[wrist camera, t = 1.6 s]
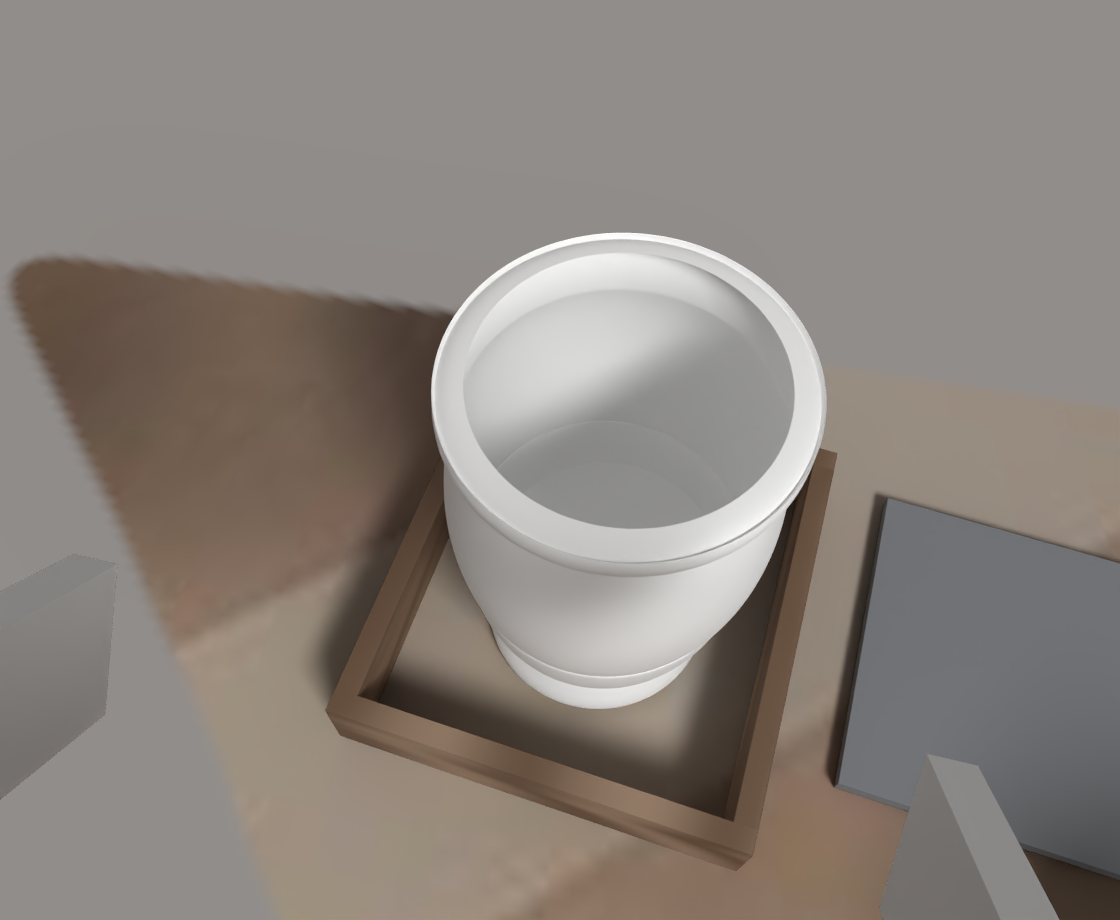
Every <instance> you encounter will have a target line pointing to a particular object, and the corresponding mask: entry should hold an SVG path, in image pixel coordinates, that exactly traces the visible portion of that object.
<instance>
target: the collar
mask: <svg viewBox="0 0 1120 920" xmlns="http://www.w3.org/2000/svg"><path fill="white" fill-rule="evenodd" d="M836 458H837V453H835V452H831V451H827V450H824V449H820V448H819V450H818V453H817V455H816V458H815V460H814V463H813V466H812V468H811V470H810V472H809V475H808V477H807V479H806V481H805V483H804V484H803V486H802V488H801V490H800V491H799V493H798V494H797V496H796V497H795V499H794V500H793V501H796V503H795V508H794V512H793V517H792V521H791V525H790V530H789V534H788V538H787V543H786V547H785V552H784V556H783V560H782V565H781V569H780V573H779V578H778V582H777V587H776V591H775V595H774V600H773V604H772V608H771V613H770V617H769V621H768V626H767V630H766V635H765V639H764V643H763V648H762V652H761V656H760V661H759V665H758V670H757V674H756V678H755V683H754V687H753V691H752V696H751V700H750V705H749V709H748V713H747V718H746V722H745V726H744V731H743V735H742V739H741V744H740V748H739V753H738V757H737V761H736V766H735V770H734V774H733V779H732V783H731V788H730V792H729V796H728V801H727V805H726V809H725V814H724V818H720V817H717V816H714V815H711V814H708V813H705V812H702V811H699V810H696V809H693V808H690V807H687V806H684V805H681V804H678V803H675V802H672V801H669V800H666V799H663V798H661V797H658V796H655V795H652V794H649V793H646V792H643V791H640V790H637V789H634V788H631V787H628V786H625V785H622V784H619V783H616V782H613V781H610V780H607V779H604V778H601V777H598V776H595V775H592V774H589V773H586V772H583V771H580V770H577V769H574V768H571V767H568V766H565V765H562V764H559V763H556V762H553V761H550V760H547V759H544V758H541V757H538V756H535V755H532V754H529V753H526V752H523V751H520V750H517V749H514V748H511V747H508V746H505V745H502V744H499V743H496V742H493V741H491V740H488V739H485V738H482V737H479V736H476V735H473V734H470V733H467V732H464V731H461V730H458V729H455V728H452V727H449V726H446V725H443V724H440V723H437V722H434V721H431V720H428V719H425V718H422V717H419V716H416V715H413V714H410V713H407V712H404V711H401V710H398V709H395V708H392V707H389V706H386V705H383V704H380V703H378V701H379V699H380V697H381V694H382V692H383V689H384V687H385V685H386V682H387V680H388V678H389V675H390V673H391V671H392V668H393V666H394V664H395V661H396V659H397V657H398V654H399V652H400V650H401V647H402V645H403V643H404V640H405V638H406V636H407V633H408V631H409V629H410V626H411V624H412V622H413V619H414V617H415V615H416V612H417V610H418V608H419V605H420V603H421V601H422V598H423V596H424V594H425V591H426V589H427V587H428V584H429V582H430V580H431V577H432V575H433V573H434V570H435V568H436V566H437V563H438V561H439V559H440V556H441V554H442V552H443V549H444V547H445V545H446V542H447V540H448V538H449V531H448V526H447V520H446V513H445V503H444V462H443V460H442V457H440V459H439V462H438V464H437V466H436V468H435V470H434V473H433V475H432V477H431V479H430V481H429V484H428V486H427V488H426V490H425V492H424V495H423V497H422V499H421V501H420V503H419V506H418V508H417V510H416V512H415V514H414V517H413V519H412V521H411V523H410V525H409V528H408V530H407V532H406V534H405V536H404V539H403V541H402V543H401V545H400V547H399V550H398V552H397V554H396V556H395V558H394V561H393V563H392V565H391V567H390V569H389V572H388V574H387V576H386V578H385V580H384V583H383V585H382V587H381V589H380V591H379V594H378V596H377V598H376V600H375V602H374V605H373V607H372V609H371V611H370V613H369V616H368V618H367V620H366V622H365V624H364V627H363V629H362V631H361V633H360V635H359V638H358V640H357V642H356V644H355V646H354V649H353V651H352V653H351V655H350V657H349V660H348V662H347V664H346V666H345V668H344V671H343V673H342V675H341V677H340V679H339V682H338V684H337V686H336V688H335V690H334V693H333V695H332V697H331V699H330V701H329V704H328V706H327V708H326V710H325V711H326V713H327V714H328V716H329V718H330V719H331V721H332V723H333V724H334V726H335V728H336V729H337V731H338V733H339V734H340V736H343V737H346V738H349V739H352V740H355V741H358V742H361V743H364V744H367V745H369V746H372V747H375V748H378V749H381V750H384V751H387V752H390V753H393V754H396V755H399V756H402V757H405V758H407V759H410V760H413V761H416V762H419V763H422V764H425V765H428V766H431V767H434V768H437V769H440V770H443V771H445V772H448V773H451V774H454V775H457V776H460V777H463V778H466V779H469V780H472V781H475V782H478V783H481V784H483V785H486V786H489V787H492V788H495V789H498V790H501V791H504V792H507V793H510V794H513V795H516V796H519V797H521V798H524V799H527V800H530V801H533V802H536V803H539V804H542V805H545V806H548V807H551V808H554V809H556V810H559V811H562V812H565V813H568V814H571V815H574V816H577V817H580V818H583V819H586V820H589V821H592V822H594V823H597V824H600V825H603V826H606V827H609V828H612V829H615V830H618V831H621V832H624V833H627V834H630V835H632V836H635V837H638V838H641V839H644V840H647V841H650V842H653V843H656V844H659V845H662V846H665V847H668V848H670V849H673V850H676V851H679V852H682V853H685V854H688V855H691V856H694V857H697V858H700V859H703V860H705V861H708V862H711V863H714V864H717V865H720V866H723V867H726V868H729V869H732V870H735V871H737V870H738V869H739V868H740V867H741V866H742V865H743V864H744V863H745V862H747V861H748V860H749V859H750V858H751V857H752V856H753V853H754V848H755V844H756V839H757V834H758V829H759V825H760V820H761V815H762V810H763V806H764V801H765V796H766V791H767V786H768V782H769V777H770V772H771V767H772V763H773V758H774V753H775V748H776V744H777V739H778V734H779V729H780V725H781V720H782V715H783V710H784V706H785V701H786V696H787V691H788V686H789V682H790V677H791V672H792V667H793V663H794V658H795V653H796V648H797V644H798V639H799V634H800V629H801V625H802V620H803V615H804V610H805V606H806V601H807V596H808V591H809V586H810V582H811V577H812V572H813V567H814V563H815V558H816V553H817V548H818V544H819V539H820V534H821V529H822V525H823V520H824V515H825V510H826V506H827V501H828V496H829V491H830V486H831V482H832V477H833V472H834V467H835V463H836Z"/></svg>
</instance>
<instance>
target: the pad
mask: <svg viewBox="0 0 1120 920" xmlns="http://www.w3.org/2000/svg"><path fill="white" fill-rule="evenodd" d="M927 754H931V755H935V756H939V757H943V758H948V759H952V760H956V761H960V762H965V763H969V764H973V765H978V767H979V769H980V771H981V773H982V774H983V776H984V778H985V780H986V782H987V784H988V786H989V788H990V790H991V791H992V793H993V795H994V797H995V799H996V801H997V803H998V805H999V806H1000V808H1001V810H1002V812H1003V814H1004V816H1005V818H1006V820H1007V822H1008V823H1009V825H1010V827H1011V829H1012V831H1013V833H1014V835H1015V837H1016V839H1017V840H1018V842H1019V844H1020V846H1021V848H1022V849H1025V850H1028V851H1031V852H1034V853H1037V854H1040V855H1043V856H1046V857H1049V858H1053V859H1056V860H1059V861H1062V862H1065V863H1068V864H1071V865H1074V866H1077V867H1080V868H1083V869H1086V870H1089V871H1092V872H1096V873H1099V874H1102V875H1105V876H1108V877H1111V878H1114V879H1117V880H1120V563H1117V562H1113V561H1110V560H1106V559H1103V558H1099V557H1095V556H1092V555H1088V554H1085V553H1081V552H1078V551H1074V550H1071V549H1067V548H1064V547H1060V546H1056V545H1053V544H1049V543H1046V542H1042V541H1039V540H1035V539H1032V538H1028V537H1025V536H1021V535H1017V534H1014V533H1010V532H1007V531H1003V530H1000V529H996V528H993V527H989V526H986V525H982V524H979V523H975V522H971V521H968V520H964V519H961V518H957V517H954V516H950V515H947V514H943V513H940V512H936V511H932V510H929V509H925V508H922V507H918V506H915V505H911V504H908V503H904V502H901V501H897V500H893V499H890V498H888V499H887V501H886V502H885V504H884V506H883V512H882V518H881V523H880V529H879V535H878V540H877V546H876V552H875V557H874V563H873V569H872V574H871V580H870V586H869V592H868V597H867V603H866V609H865V614H864V620H863V626H862V631H861V637H860V643H859V648H858V654H857V660H856V665H855V671H854V677H853V683H852V688H851V694H850V700H849V705H848V711H847V717H846V722H845V728H844V734H843V739H842V745H841V751H840V756H839V762H838V768H837V774H836V779H835V785H834V788H838V789H841V790H844V791H847V792H850V793H853V794H856V795H859V796H862V797H865V798H868V799H871V800H874V801H877V802H881V803H884V804H887V805H890V806H893V807H896V808H899V809H902V810H905V811H908V812H909V809H910V806H911V803H912V800H913V796H914V793H915V790H916V787H917V784H918V780H919V777H920V774H921V771H922V767H923V764H924V761H925V758H926V755H927Z"/></svg>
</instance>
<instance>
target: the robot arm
mask: <svg viewBox="0 0 1120 920" xmlns="http://www.w3.org/2000/svg"><path fill="white" fill-rule="evenodd" d="M116 577H117V564H115V563H111V562H107V561H102V560H98V559H94V558H90V557H85V556H81V555H77V554H72V555H71V556H69V557H67V558H65V559H63V560H61V561H59V562H57V563H55V564H53V565H51V566H49V567H47V568H45V569H43V570H41V571H39V572H37V573H36V574H33V575H31V576H30V577H27V578H26V579H24V580H22V581H20V582H18V583H16V584H14V585H12V586H10V587H8V588H6V589H4V590H2V591H0V799H1V798H3V797H4V796H5V795H7V794H8V793H9V792H10V791H11V790H13V789H14V788H15V787H16V786H18V785H19V784H20V783H21V782H22V781H24V780H25V779H26V778H27V777H29V776H30V775H31V774H32V773H34V772H35V771H36V770H37V769H39V768H40V767H41V766H42V765H44V764H45V763H46V762H47V761H49V760H50V759H51V758H52V757H53V756H55V755H56V754H57V753H58V752H60V751H61V750H62V749H63V748H65V747H66V746H67V745H68V744H69V743H70V742H72V741H73V740H74V739H76V738H77V737H78V736H79V735H81V734H82V733H83V732H84V731H85V730H87V729H88V728H89V727H90V726H91V725H93V724H94V723H95V722H97V721H98V720H99V719H100V718H102V717H103V716H104V715H105V710H106V697H107V686H108V673H109V661H110V650H111V649H110V648H111V638H112V624H113V613H114V601H115V589H116ZM879 908H880V912H881V915H882V919H883V920H1059V918H1058V916H1057V914H1056V912H1055V910H1054V908H1053V906H1052V905H1051V903H1050V901H1049V899H1048V897H1047V895H1046V893H1045V891H1044V890H1043V888H1042V886H1041V884H1040V882H1039V880H1038V878H1037V876H1036V874H1035V873H1034V871H1033V869H1032V867H1031V865H1030V863H1029V861H1028V859H1027V857H1026V856H1025V854H1024V852H1023V850H1022V848H1021V846H1020V844H1019V842H1018V840H1017V839H1016V837H1015V835H1014V833H1013V831H1012V829H1011V827H1010V825H1009V823H1008V822H1007V820H1006V818H1005V816H1004V814H1003V812H1002V810H1001V808H1000V806H999V805H998V803H997V801H996V799H995V797H994V795H993V793H992V791H991V790H990V788H989V786H988V784H987V782H986V780H985V778H984V776H983V774H982V773H981V771H980V769H979V767H978V765H973V764H969V763H965V762H960V761H956V760H952V759H948V758H943V757H939V756H935V755H931V754H927V755H926V758H925V761H924V764H923V767H922V771H921V774H920V777H919V780H918V784H917V787H916V790H915V793H914V796H913V800H912V803H911V806H910V809H909V813H908V816H907V819H906V822H905V826H904V829H903V832H902V835H901V838H900V842H899V845H898V848H897V851H896V855H895V858H894V861H893V864H892V867H891V871H890V874H889V877H888V880H887V884H886V887H885V890H884V893H883V896H882V900H881V903H880V906H879Z"/></svg>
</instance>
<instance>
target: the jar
mask: <svg viewBox="0 0 1120 920" xmlns="http://www.w3.org/2000/svg"><path fill="white" fill-rule="evenodd" d="M431 401H432V421H433V428H434V433H435V438H436V442H437V445H438V449H439V452H440V455H441V457H442V460H443V462H444V503H445V513H446V520H447V526H448V531H449V535H450V540H451V544H452V547H453V551H454V554H455V557H456V560H457V563H458V565H459V568H460V570H461V573H462V575H463V577H464V579H465V582H466V584H467V586H468V588H469V589H470V591H471V593H472V595H473V597H474V598H475V600H476V602H477V603H478V605H479V606H480V608H481V610H482V612H483V614H484V615H485V617H486V619H487V621H488V622H489V624H490V625H491V627H492V630H493V634H494V637H495V640H496V642H497V645H498V647H499V649H500V651H501V653H502V655H503V656H504V658H505V659H506V661H507V662H508V664H509V665H510V667H511V668H512V669H513V670H514V671H515V672H516V674H517V675H518V676H519V677H520V678H521V679H522V680H523V681H525V682H526V683H527V684H528V685H530V686H531V687H532V688H534V689H535V690H536V691H538V692H540V693H541V694H543V695H545V696H547V697H549V698H551V699H553V700H555V701H558V702H561V703H564V704H567V705H571V706H575V707H580V708H588V709H608V708H616V707H622V706H626V705H630V704H633V703H636V702H639V701H641V700H643V699H646V698H648V697H650V696H652V695H653V694H655V693H657V692H658V691H660V690H661V689H663V688H664V687H666V686H667V685H668V684H669V683H670V682H672V681H673V680H674V679H675V678H676V677H677V676H678V675H679V674H680V673H681V671H682V670H683V669H684V668H685V666H686V665H687V664H688V662H689V661H690V659H691V658H692V656H693V655H694V654H695V653H696V652H697V651H698V650H700V649H701V648H702V647H703V646H704V645H705V644H706V643H707V642H708V641H709V639H710V638H711V637H712V636H714V635H715V634H716V633H717V632H718V631H719V630H720V629H721V628H722V627H723V626H724V625H725V624H726V623H727V622H728V621H729V620H730V619H731V618H732V617H733V616H734V615H735V614H736V613H737V611H738V610H739V609H740V608H741V606H742V605H743V604H744V602H745V601H746V600H747V598H748V597H749V596H750V594H751V593H752V591H753V590H754V588H755V586H756V585H757V583H758V581H759V580H760V578H761V576H762V574H763V572H764V570H765V569H766V567H767V564H768V562H769V560H770V558H771V556H772V553H773V551H774V548H775V546H776V543H777V540H778V537H779V534H780V531H781V528H782V525H783V521H784V517H785V513H786V509H787V508H788V507H789V505H790V504H791V503H792V502H793V500H794V499H795V497H796V496H797V494H798V493H799V491H800V490H801V488H802V486H803V484H804V483H805V481H806V479H807V477H808V475H809V472H810V470H811V468H812V466H813V463H814V460H815V458H816V455H817V453H818V450H819V447H820V444H821V441H822V437H823V433H824V427H825V421H826V408H827V400H826V387H825V380H824V375H823V370H822V366H821V363H820V360H819V357H818V354H817V351H816V349H815V347H814V344H813V342H812V340H811V338H810V336H809V334H808V332H807V331H806V329H805V327H804V326H803V324H802V322H801V321H800V319H799V318H798V317H797V315H796V314H795V313H794V311H793V310H792V309H791V308H790V306H789V305H788V304H787V303H786V302H785V301H784V300H783V298H782V297H781V296H780V295H779V294H778V293H777V292H776V291H775V290H773V289H772V288H771V287H770V286H769V285H768V284H767V283H765V282H764V281H763V280H762V279H760V278H759V277H758V276H756V275H755V274H754V273H752V272H751V271H749V270H748V269H746V268H745V267H743V266H741V265H740V264H738V263H736V262H735V261H733V260H731V259H729V258H727V257H725V256H723V255H721V254H719V253H717V252H714V251H712V250H709V249H707V248H704V247H701V246H699V245H695V244H692V243H689V242H686V241H682V240H678V239H674V238H669V237H664V236H658V235H650V234H639V233H605V234H595V235H588V236H581V237H576V238H572V239H567V240H563V241H560V242H557V243H553V244H550V245H547V246H544V247H542V248H540V249H537V250H534V251H532V252H530V253H528V254H526V255H524V256H522V257H520V258H518V259H516V260H514V261H512V262H511V263H509V264H507V265H506V266H504V267H503V268H501V269H500V270H498V271H497V272H496V273H494V274H493V275H492V276H490V277H489V278H488V279H487V280H486V281H484V282H483V283H482V284H481V285H480V286H479V287H478V288H477V289H476V290H475V291H474V292H473V293H472V294H471V295H470V296H469V297H468V298H467V300H466V301H465V302H464V303H463V305H462V306H461V307H460V308H459V310H458V311H457V313H456V314H455V316H454V317H453V319H452V320H451V322H450V324H449V326H448V328H447V330H446V332H445V334H444V336H443V338H442V341H441V343H440V346H439V349H438V352H437V355H436V359H435V363H434V368H433V374H432V385H431Z"/></svg>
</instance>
